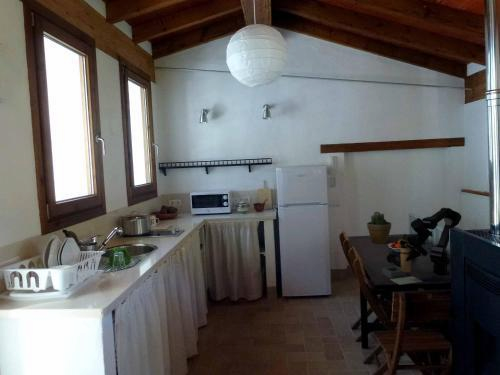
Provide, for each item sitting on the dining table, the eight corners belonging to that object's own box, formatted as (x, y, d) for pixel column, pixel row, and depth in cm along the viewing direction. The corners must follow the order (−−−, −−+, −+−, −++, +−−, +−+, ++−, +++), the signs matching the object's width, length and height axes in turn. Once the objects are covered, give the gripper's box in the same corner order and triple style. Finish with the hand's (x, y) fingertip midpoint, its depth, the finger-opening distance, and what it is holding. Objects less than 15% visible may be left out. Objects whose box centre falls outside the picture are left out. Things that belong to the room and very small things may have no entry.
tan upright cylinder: (407, 268, 216) (406, 247, 215) (413, 271, 211) (412, 249, 210) (398, 269, 215) (398, 248, 214) (404, 272, 210) (403, 250, 209)
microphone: (405, 274, 237) (391, 261, 256) (408, 265, 236) (394, 253, 255) (396, 272, 236) (384, 259, 256) (400, 263, 235) (386, 251, 255)
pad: (412, 278, 219) (412, 276, 219) (422, 282, 211) (422, 281, 211) (390, 281, 217) (390, 279, 217) (399, 286, 208) (399, 284, 208)
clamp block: (397, 271, 232) (397, 265, 232) (408, 277, 221) (408, 270, 221) (380, 274, 230) (380, 267, 229) (390, 279, 219) (390, 273, 219)
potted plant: (363, 240, 316) (362, 210, 314) (385, 238, 318) (384, 208, 316) (373, 245, 297) (372, 213, 295) (396, 243, 299) (395, 212, 297)
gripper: (401, 225, 221) (384, 246, 220) (422, 231, 203) (403, 254, 202) (414, 238, 223) (397, 258, 222) (435, 244, 205) (417, 267, 204)
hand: (403, 259), depth 213 cm, fingers closed on tan upright cylinder, 5 cm apart
